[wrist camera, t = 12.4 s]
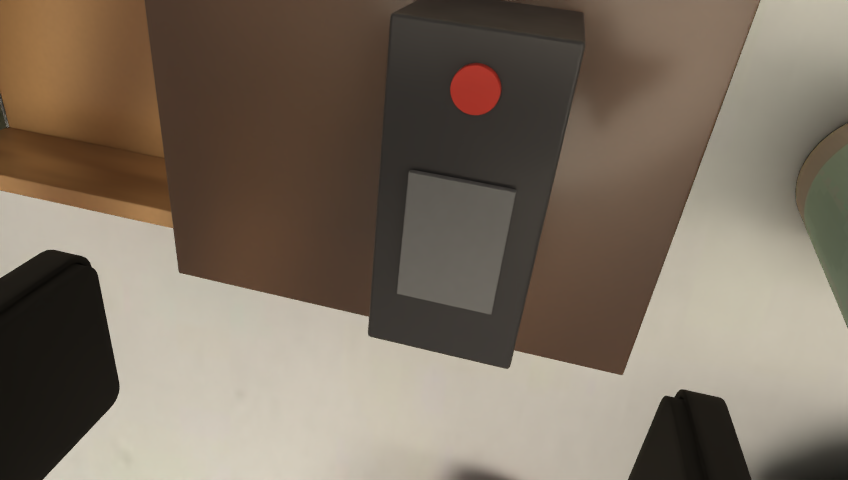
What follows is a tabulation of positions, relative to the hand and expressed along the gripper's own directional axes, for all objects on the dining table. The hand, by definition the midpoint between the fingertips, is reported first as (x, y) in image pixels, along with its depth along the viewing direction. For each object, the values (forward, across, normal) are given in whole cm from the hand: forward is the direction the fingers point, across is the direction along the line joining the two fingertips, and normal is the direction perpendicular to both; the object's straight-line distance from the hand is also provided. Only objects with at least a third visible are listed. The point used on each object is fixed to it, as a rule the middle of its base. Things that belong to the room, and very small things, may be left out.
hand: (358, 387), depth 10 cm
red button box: (+10, -1, 0) cm, 11 cm away
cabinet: (+18, +2, 0) cm, 18 cm away
